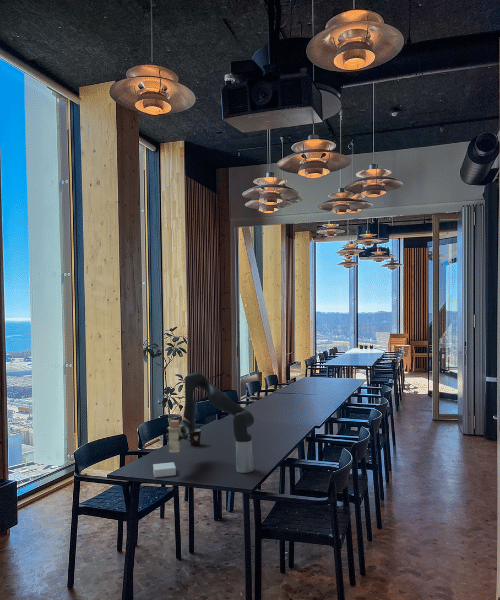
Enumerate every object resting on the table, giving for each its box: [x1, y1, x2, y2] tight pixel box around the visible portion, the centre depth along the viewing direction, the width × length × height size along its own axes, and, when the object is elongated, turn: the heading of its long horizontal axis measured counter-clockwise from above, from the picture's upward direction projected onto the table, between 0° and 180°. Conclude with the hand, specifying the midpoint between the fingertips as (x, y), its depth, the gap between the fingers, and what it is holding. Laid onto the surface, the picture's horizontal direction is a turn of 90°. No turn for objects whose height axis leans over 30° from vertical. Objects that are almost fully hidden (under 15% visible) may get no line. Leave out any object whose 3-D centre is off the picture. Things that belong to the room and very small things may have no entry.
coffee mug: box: [186, 428, 202, 447], centre depth 347 cm, size 12×9×10 cm
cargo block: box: [169, 419, 180, 427], centre depth 282 cm, size 4×4×3 cm
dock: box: [152, 461, 177, 478], centre depth 282 cm, size 12×12×4 cm
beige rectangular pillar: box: [166, 425, 182, 453], centre depth 282 cm, size 6×6×14 cm
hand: (173, 439), depth 279 cm, fingers closed on beige rectangular pillar, 5 cm apart
